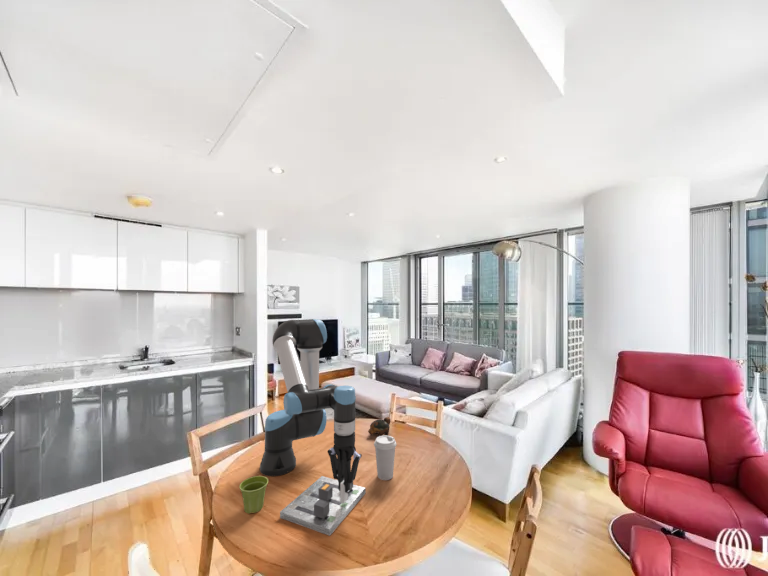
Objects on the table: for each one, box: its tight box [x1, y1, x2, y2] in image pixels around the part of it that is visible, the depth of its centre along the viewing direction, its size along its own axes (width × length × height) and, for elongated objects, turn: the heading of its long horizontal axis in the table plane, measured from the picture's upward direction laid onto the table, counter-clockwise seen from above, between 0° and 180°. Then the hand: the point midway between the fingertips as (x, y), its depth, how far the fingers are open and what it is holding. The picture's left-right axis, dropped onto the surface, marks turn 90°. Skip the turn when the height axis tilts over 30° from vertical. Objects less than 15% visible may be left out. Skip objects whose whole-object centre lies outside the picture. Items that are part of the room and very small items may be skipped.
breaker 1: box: [318, 484, 333, 501], centre depth 112 cm, size 4×3×4 cm
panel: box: [279, 475, 367, 537], centre depth 112 cm, size 20×24×2 cm
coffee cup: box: [373, 435, 397, 481], centre depth 131 cm, size 10×10×15 cm
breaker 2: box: [314, 499, 329, 519], centre depth 103 cm, size 4×3×4 cm
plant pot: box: [239, 475, 269, 515], centre depth 110 cm, size 9×9×9 cm
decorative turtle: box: [367, 416, 391, 436], centre depth 173 cm, size 10×15×8 cm, turn 137°
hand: (344, 500), depth 109 cm, fingers closed
